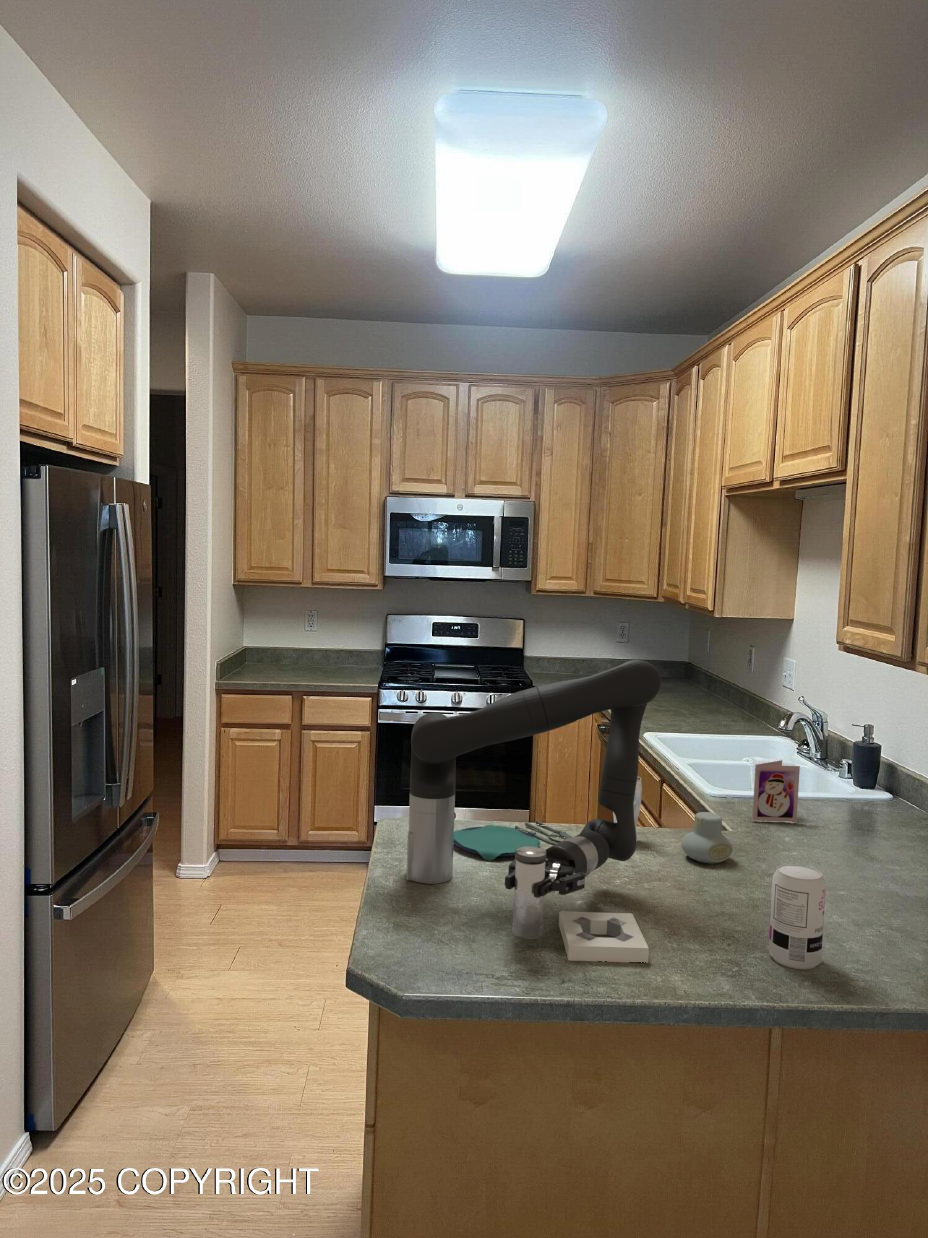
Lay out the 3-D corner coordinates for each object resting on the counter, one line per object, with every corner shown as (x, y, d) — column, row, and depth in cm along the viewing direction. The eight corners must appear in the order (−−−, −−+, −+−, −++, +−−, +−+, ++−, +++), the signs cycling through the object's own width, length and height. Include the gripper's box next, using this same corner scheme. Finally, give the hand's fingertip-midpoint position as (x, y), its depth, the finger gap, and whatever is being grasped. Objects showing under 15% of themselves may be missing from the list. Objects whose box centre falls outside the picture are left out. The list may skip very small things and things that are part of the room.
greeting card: (753, 823, 222) (756, 765, 221) (743, 815, 229) (746, 759, 228) (797, 824, 222) (801, 767, 221) (786, 816, 229) (790, 760, 228)
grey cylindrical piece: (512, 938, 144) (516, 856, 143) (511, 925, 149) (514, 845, 148) (543, 939, 144) (547, 857, 143) (541, 926, 149) (545, 847, 148)
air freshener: (712, 851, 199) (714, 808, 198) (738, 862, 191) (740, 818, 191) (674, 856, 194) (676, 812, 193) (699, 868, 186) (701, 823, 186)
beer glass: (639, 846, 200) (642, 782, 199) (609, 843, 202) (611, 779, 201) (639, 837, 207) (642, 775, 206) (610, 834, 209) (612, 773, 208)
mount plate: (568, 960, 141) (568, 945, 140) (558, 925, 155) (559, 911, 154) (648, 963, 141) (648, 948, 140) (631, 927, 155) (632, 913, 154)
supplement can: (760, 949, 147) (764, 863, 146) (806, 949, 148) (811, 863, 147) (781, 971, 139) (786, 880, 138) (830, 971, 140) (836, 880, 139)
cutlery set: (434, 841, 199) (434, 831, 199) (534, 824, 217) (535, 815, 217) (485, 868, 183) (485, 858, 183) (589, 848, 200) (589, 838, 200)
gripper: (536, 832, 162) (486, 855, 148) (606, 849, 153) (560, 876, 139) (534, 871, 162) (484, 898, 148) (604, 891, 154) (558, 921, 140)
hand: (521, 887), depth 144 cm, fingers closed on grey cylindrical piece, 5 cm apart
